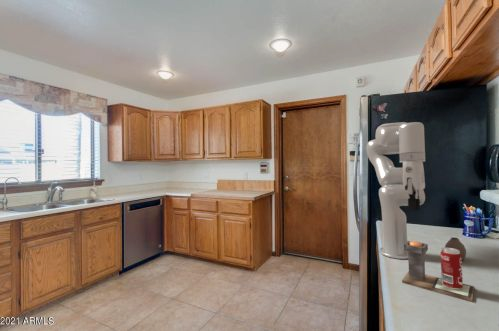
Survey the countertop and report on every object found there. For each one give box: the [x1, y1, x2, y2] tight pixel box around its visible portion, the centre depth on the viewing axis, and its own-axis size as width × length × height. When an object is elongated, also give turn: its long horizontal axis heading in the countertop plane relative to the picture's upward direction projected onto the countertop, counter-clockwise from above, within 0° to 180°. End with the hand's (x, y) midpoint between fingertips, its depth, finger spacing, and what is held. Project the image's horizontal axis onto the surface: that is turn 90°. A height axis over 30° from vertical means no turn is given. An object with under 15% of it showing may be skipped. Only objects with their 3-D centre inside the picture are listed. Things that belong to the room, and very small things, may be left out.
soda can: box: [440, 247, 464, 290], centre depth 78 cm, size 5×5×12 cm
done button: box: [409, 240, 423, 247], centre depth 85 cm, size 4×4×2 cm
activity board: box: [401, 240, 475, 303], centre depth 81 cm, size 18×10×13 cm, turn 44°
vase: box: [444, 237, 467, 261], centre depth 101 cm, size 7×7×9 cm
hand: (414, 209), depth 85 cm, fingers closed
